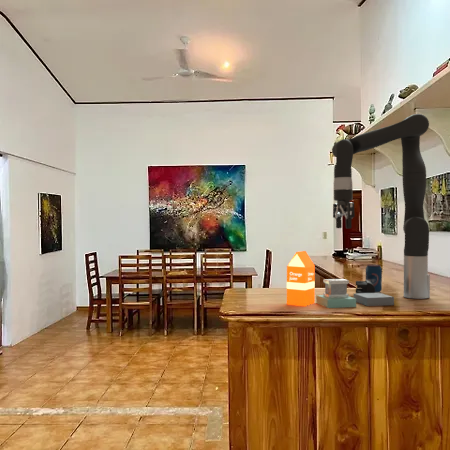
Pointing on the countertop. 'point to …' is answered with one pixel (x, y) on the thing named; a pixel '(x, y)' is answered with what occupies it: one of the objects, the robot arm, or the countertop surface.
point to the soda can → (374, 276)
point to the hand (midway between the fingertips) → (343, 228)
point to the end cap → (365, 287)
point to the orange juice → (300, 280)
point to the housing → (336, 288)
